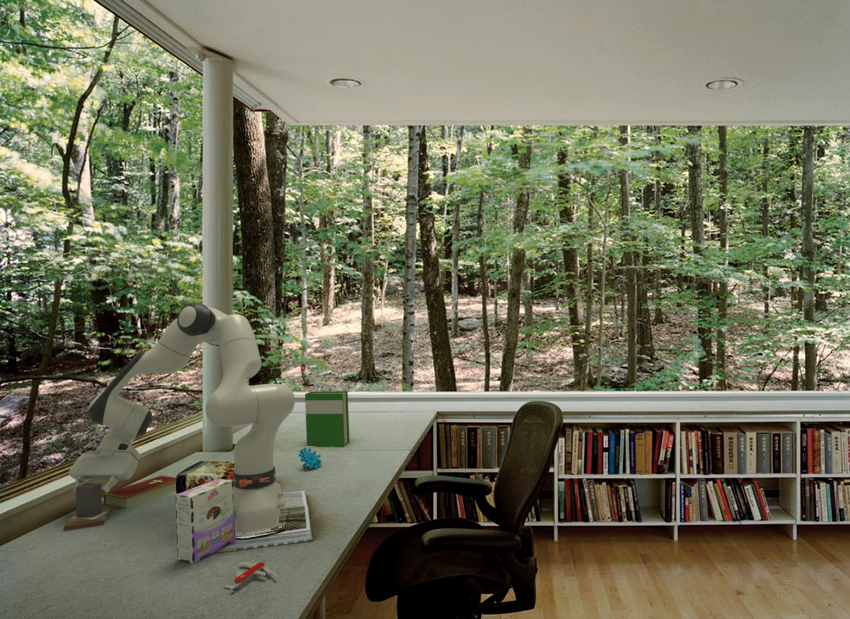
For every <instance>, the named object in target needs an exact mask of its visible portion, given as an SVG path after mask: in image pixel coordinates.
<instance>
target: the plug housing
mask: <svg viewBox="0 0 850 619" xmlns="http://www.w3.org/2000/svg"><path fill="white" fill-rule="evenodd" d="M101 489H102V483H93V482H91V483H88V482H86V483H85V482H84V483H82V485H80V486H77V487H76V492H75V508H76V510H75V511H76V516H77V517H89V518H93V517H95V516H97V515H99V514H101V513H102V507H103V501H102V500H103V499H102V498H103V495H102V491H101Z"/></svg>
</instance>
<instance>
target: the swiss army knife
mask: <svg viewBox="0 0 850 619" xmlns="http://www.w3.org/2000/svg"><path fill="white" fill-rule="evenodd" d="M238 565H241V566H246V567H248V568H249V569H248V570H246V571H244V572H243V571H242V570H238V571H237V572H236V577H235V579H234V582H233V584H228V585H223V587H224V588H226V589H229V590H241V589H242V588H244V587H245V586H246V585H248V584H249V583H251V582H252V581H253V580H255V579H256V578H258V577H259V576H260V575H261V576H264V577H265V576H266V575H267V574H268V575H272V576H273V577H275V578H278V577H279V576H278V575H277V574H276V573H275V572H273V570H272V569H271V568H269V567H268V566H267V565H266V563H265V562H264V561H259V562H258V563H253V562H246V561H245V562H244V561H240V562H238Z"/></svg>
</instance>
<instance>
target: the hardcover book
mask: <svg viewBox="0 0 850 619" xmlns="http://www.w3.org/2000/svg"><path fill="white" fill-rule="evenodd" d="M176 478H177V477H175V476H168V475H163V474H162V475H159V476H156V477H153V478H152V477H151V478H148V479H145V480H142V481H140V482H137V483H134V484H133V483H132V484H131V485H126V486H123V487H120V488H117V489H114V490H111V491H109V492H108V493H104V492H103V505H108V506H111V505H113V507H118V508H123V509H129V508H132V507H135V506H138V505H141V504H143V503H146V502H149V501H152V500H155V499H157V498H161V497H163V496H166V495H168V494H169V495H170V494H172V493H174V492H177V491H176Z"/></svg>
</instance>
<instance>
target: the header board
mask: <svg viewBox="0 0 850 619" xmlns="http://www.w3.org/2000/svg"><path fill="white" fill-rule="evenodd" d="M113 507H114V506H113V505H106V506H105V505H104V506H102V513H101V514H99V515H97V516H95V517H93V518H89V517H77V516H76V510H75V511H73V512H74V513H72V515H71V517H70V518H68V520H67V521H66V523H65V525H64V526H63V531H64V532H66V531H71V530H78V529H83V528H92V527H96V526H97V527H98V526H104V525H105V523H106V522H107V520H108V518H109V516H110V515H111V513H112V512H113Z"/></svg>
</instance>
